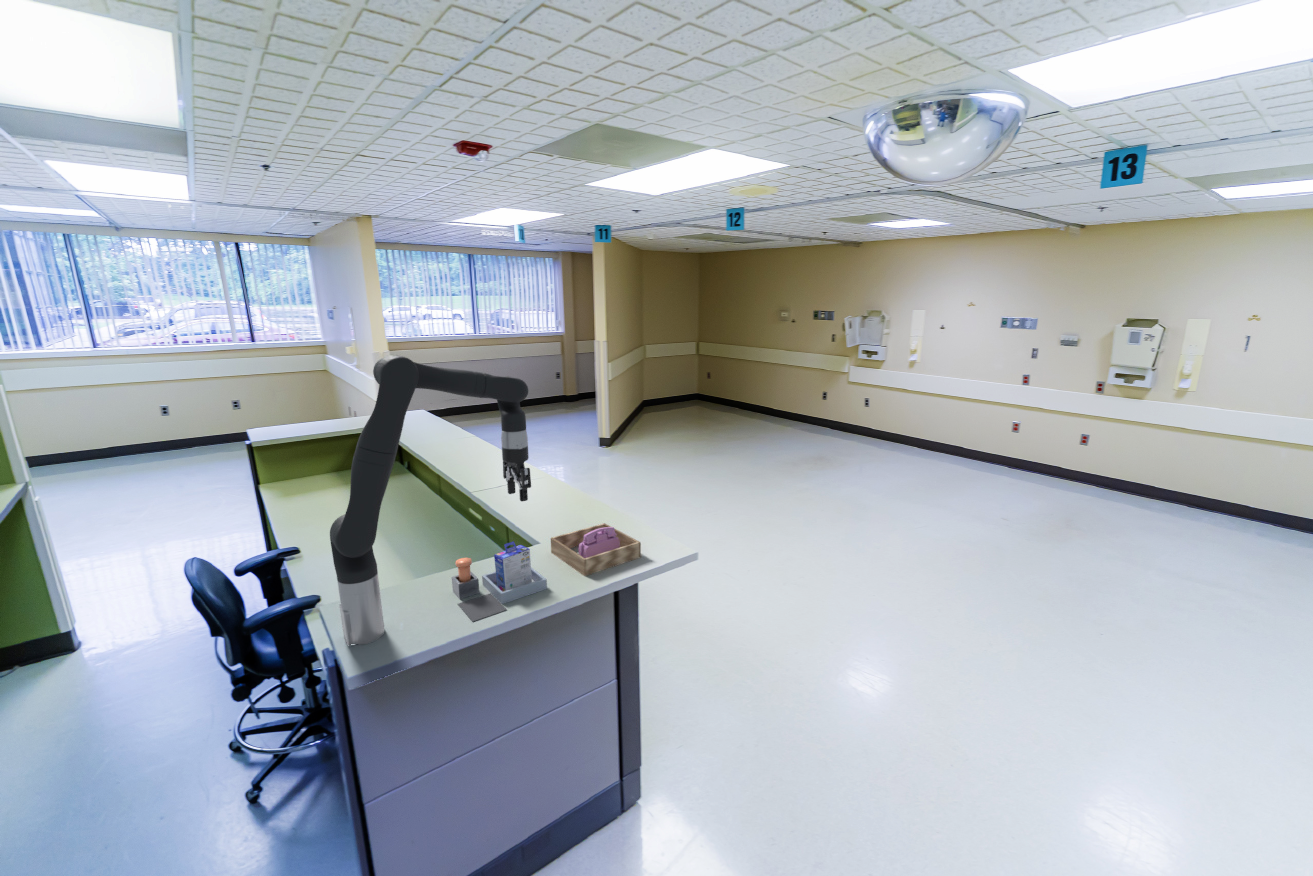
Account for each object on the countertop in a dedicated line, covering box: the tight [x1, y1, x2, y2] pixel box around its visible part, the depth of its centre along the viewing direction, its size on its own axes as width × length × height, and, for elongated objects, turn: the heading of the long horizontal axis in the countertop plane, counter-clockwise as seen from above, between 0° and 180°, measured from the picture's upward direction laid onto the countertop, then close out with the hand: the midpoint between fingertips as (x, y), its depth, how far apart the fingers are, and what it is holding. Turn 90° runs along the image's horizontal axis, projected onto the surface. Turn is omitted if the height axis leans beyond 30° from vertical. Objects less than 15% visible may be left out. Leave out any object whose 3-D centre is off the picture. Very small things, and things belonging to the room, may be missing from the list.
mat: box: [457, 592, 508, 623], centre depth 160 cm, size 10×12×1 cm
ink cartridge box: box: [493, 541, 533, 592], centre depth 170 cm, size 10×6×14 cm, turn 138°
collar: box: [481, 566, 548, 605], centre depth 172 cm, size 15×15×4 cm
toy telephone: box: [578, 526, 620, 558], centre depth 193 cm, size 18×6×10 cm, turn 130°
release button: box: [455, 557, 473, 583], centre depth 167 cm, size 5×5×8 cm
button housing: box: [451, 571, 480, 600], centre depth 168 cm, size 6×6×5 cm
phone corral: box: [550, 523, 642, 577], centre depth 194 cm, size 23×23×6 cm
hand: (517, 497), depth 168 cm, fingers open, 8 cm apart
